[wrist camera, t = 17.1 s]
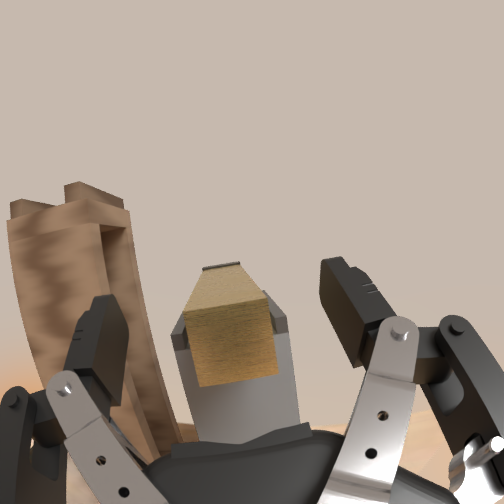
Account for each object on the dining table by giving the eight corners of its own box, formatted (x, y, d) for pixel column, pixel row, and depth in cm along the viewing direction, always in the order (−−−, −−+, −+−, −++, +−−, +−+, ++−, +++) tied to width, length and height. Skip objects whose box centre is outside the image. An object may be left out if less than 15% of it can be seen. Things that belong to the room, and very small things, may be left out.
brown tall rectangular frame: (104, 505, 22) (5, 204, 21) (126, 450, 34) (62, 213, 32) (178, 509, 23) (85, 179, 21) (185, 448, 35) (127, 198, 33)
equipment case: (223, 522, 21) (162, 336, 20) (221, 460, 32) (181, 303, 31) (309, 507, 22) (286, 316, 21) (288, 449, 33) (264, 290, 32)
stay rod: (198, 387, 14) (179, 307, 14) (209, 302, 36) (203, 267, 35) (280, 373, 15) (268, 293, 14) (244, 296, 36) (239, 261, 36)
